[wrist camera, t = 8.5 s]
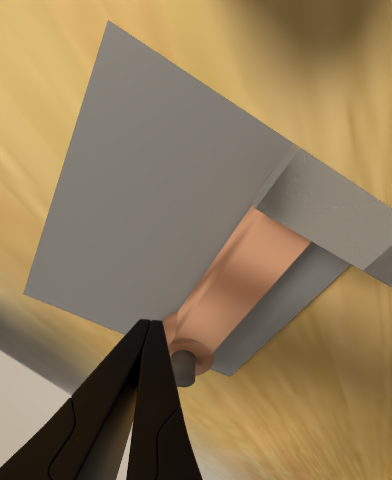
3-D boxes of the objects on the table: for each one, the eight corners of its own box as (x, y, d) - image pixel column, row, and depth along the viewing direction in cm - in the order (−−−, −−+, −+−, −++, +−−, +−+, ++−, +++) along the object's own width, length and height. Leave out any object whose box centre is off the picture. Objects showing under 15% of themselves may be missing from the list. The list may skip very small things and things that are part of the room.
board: (229, 367, 25) (229, 376, 25) (30, 285, 21) (23, 294, 21) (392, 209, 17) (402, 216, 16) (115, 24, 13) (108, 20, 12)
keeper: (352, 245, 17) (391, 287, 14) (244, 180, 15) (254, 208, 12) (390, 208, 16) (445, 244, 12) (276, 132, 14) (300, 147, 10)
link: (197, 355, 23) (195, 404, 19) (150, 337, 22) (138, 385, 18) (347, 178, 15) (391, 206, 11) (283, 138, 14) (308, 155, 10)
